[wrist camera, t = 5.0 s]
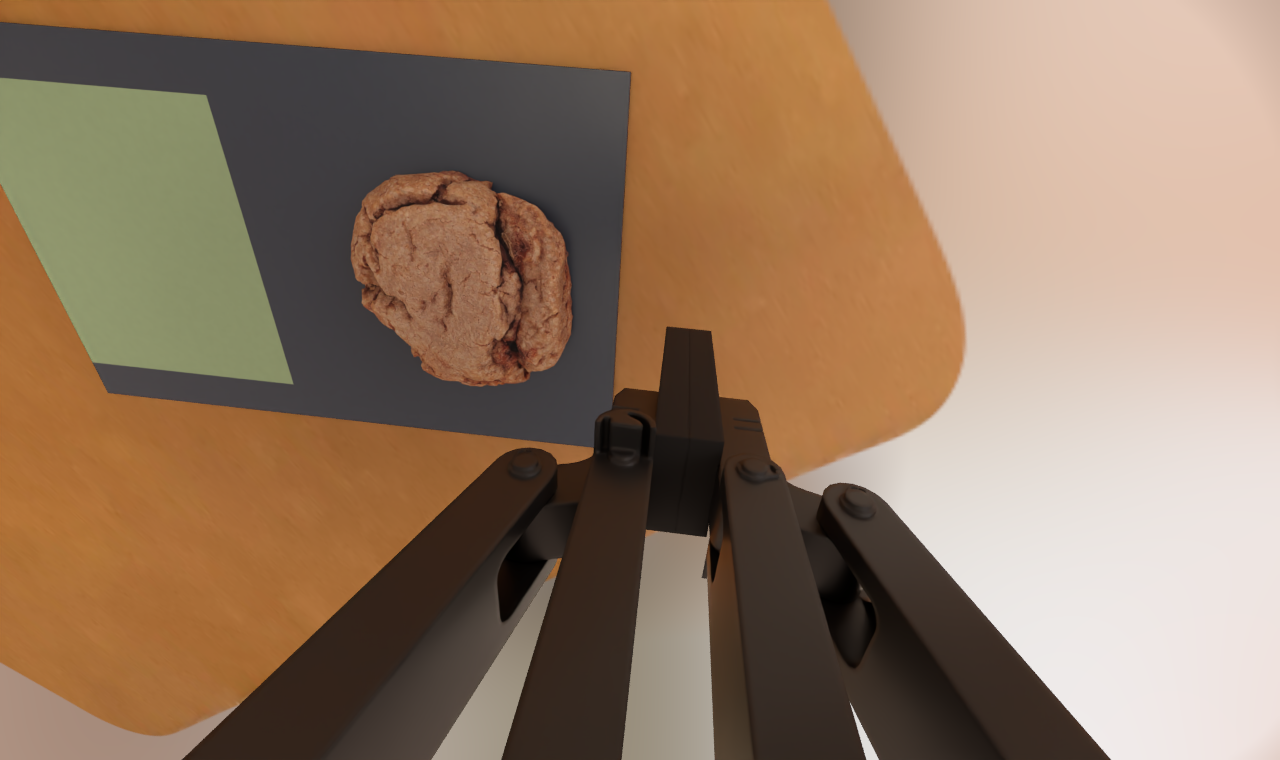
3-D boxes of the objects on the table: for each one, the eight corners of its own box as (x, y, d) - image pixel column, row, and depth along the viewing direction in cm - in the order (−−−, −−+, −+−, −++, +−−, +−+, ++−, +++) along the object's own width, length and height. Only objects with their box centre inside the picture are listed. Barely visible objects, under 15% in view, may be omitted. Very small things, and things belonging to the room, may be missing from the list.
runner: (-80, 16, 20) (-87, 15, 19) (631, 72, 18) (630, 71, 18) (111, 391, 28) (107, 392, 28) (610, 447, 27) (609, 449, 26)
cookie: (395, 117, 20) (350, 114, 17) (618, 246, 21) (609, 261, 19) (346, 313, 24) (304, 334, 21) (534, 407, 26) (517, 438, 23)
